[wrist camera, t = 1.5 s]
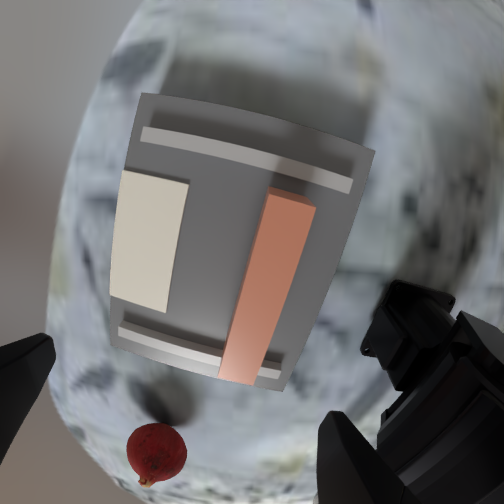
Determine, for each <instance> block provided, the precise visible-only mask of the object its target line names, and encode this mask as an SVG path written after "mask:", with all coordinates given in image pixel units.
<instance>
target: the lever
mask: <svg viewBox="0 0 504 504" xmlns="http://www.w3.org/2000/svg"><path fill="white" fill-rule="evenodd" d="M315 210H316V207H315V206H314V204H313V203H312V202H311V201H310V200H309V199H308V198H307V197H305V196H301V195H298V194H295V193H291V192H288V191H284V190H281V189H277V188H274V187H270V186H268V189H267V192H266V196H265V200H264V203H263V207H262V210H261V214H260V218H259V221H258V225H257V228H256V232H255V236H254V239H253V243H252V246H251V250H250V254H249V257H248V261H247V264H246V268H245V272H244V275H243V279H242V282H241V286H240V290H239V293H238V297H237V300H236V304H235V308H234V311H233V315H232V318H231V322H230V326H229V329H228V333H227V337H226V340H225V344H224V348H223V353H222V358H221V362H220V367H219V372H218V378H222V379H226V380H230V381H235V382H239V383H244V384H248V385H253V384H254V382H255V379H256V377H257V374H258V372H259V369H260V367H261V364H262V362H263V359H264V356H265V354H266V351H267V349H268V346H269V343H270V341H271V338H272V335H273V333H274V330H275V327H276V325H277V322H278V319H279V316H280V314H281V311H282V308H283V305H284V303H285V300H286V297H287V294H288V291H289V289H290V286H291V283H292V280H293V277H294V274H295V271H296V268H297V265H298V262H299V259H300V256H301V254H302V251H303V248H304V244H305V241H306V238H307V235H308V232H309V229H310V226H311V223H312V220H313V217H314V214H315Z"/></svg>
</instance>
